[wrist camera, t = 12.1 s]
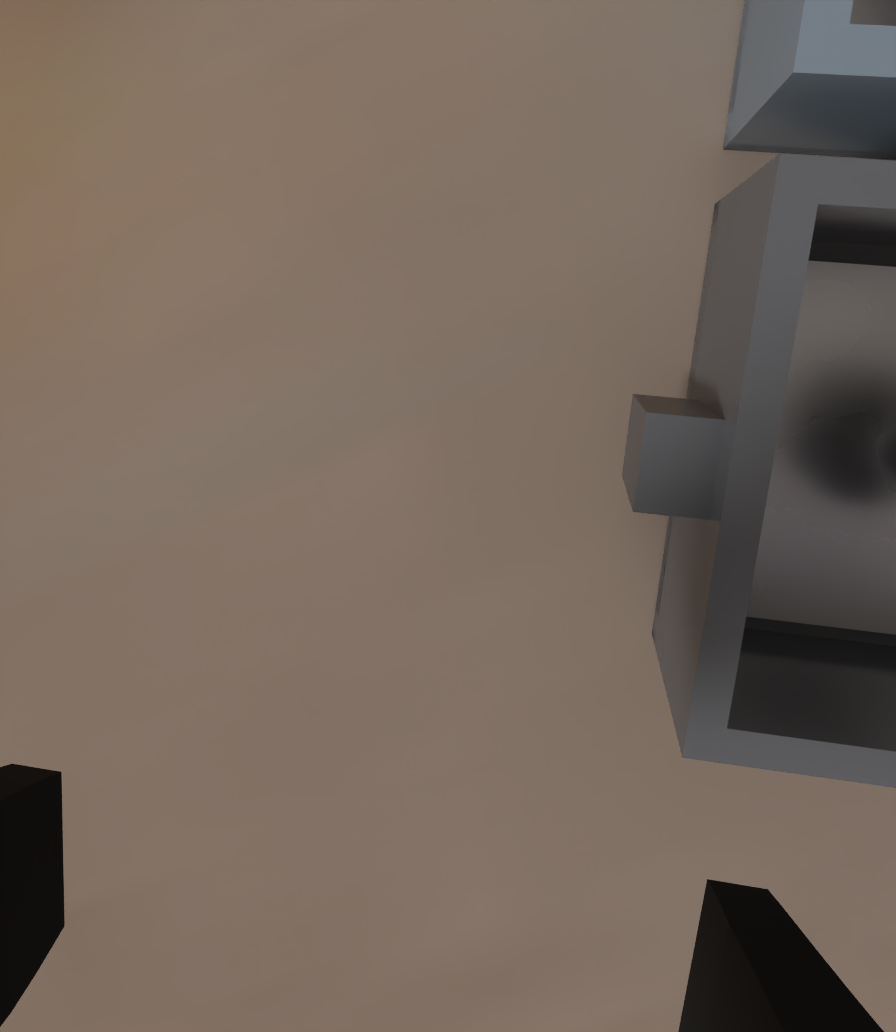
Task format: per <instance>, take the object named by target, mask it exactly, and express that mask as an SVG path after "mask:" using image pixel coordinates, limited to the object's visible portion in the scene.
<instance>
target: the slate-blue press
mask: <svg viewBox="0 0 896 1032" xmlns="http://www.w3.org/2000/svg"><path fill="white" fill-rule="evenodd" d="M853 1H854V0H745V3H744V9H743V16H742V23H741V30H740V37H739V43H738V50H737V57H736V64H735V71H734V78H733V84H732V91H731V98H730V105H729V112H728V119H727V125H726V132H725V139H724V146H723V150H739V151H755V152H772V153H789V154H806V155H823V156H840V157H857V158H874V159H891V160H896V26H886V25H862V24H850V18H851V12H852V6H853Z"/></svg>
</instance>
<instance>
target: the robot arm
mask: <svg viewBox="0 0 896 1032" xmlns="http://www.w3.org/2000/svg"><path fill="white" fill-rule="evenodd" d="M63 927H64V880H63V831H62V781H61V772H58V771H52V770H46V769H40V768H34V767H28V766H22V765H16V764H10V765H6V766H3V767H0V1026H1V1025H2V1024H3V1022H4V1021H5V1020H6V1018H7V1017H8V1016H9V1015H10V1013H11V1012H12V1010H13V1009H14V1007H15V1005H16V1004H17V1002H18V1001H19V999H20V998H21V996H22V995H23V993H24V991H25V990H26V988H27V987H28V985H29V984H30V982H31V981H32V979H33V977H34V976H35V974H36V973H37V971H38V969H39V968H40V966H41V964H42V963H43V961H44V959H45V958H46V956H47V954H48V953H49V951H50V949H51V948H52V946H53V944H54V943H55V941H56V939H57V938H58V936H59V934H60V932H61V931H62V929H63ZM679 1032H884V1031H883V1030H882V1029H881V1028H880V1027H879V1025H878V1024H877V1023H876V1022H875V1021H874V1020H873V1018H872V1017H871V1016H870V1015H869V1014H868V1012H867V1011H866V1010H865V1009H864V1008H863V1006H862V1005H861V1004H860V1003H859V1002H858V1000H857V999H856V998H855V997H854V995H853V994H852V993H851V992H850V991H849V989H848V988H847V987H846V986H845V985H844V983H843V982H842V981H841V980H840V978H839V977H838V976H837V975H836V973H835V972H834V971H833V970H832V968H831V967H830V966H829V965H828V963H827V962H826V961H825V960H824V959H823V957H822V956H821V955H820V954H819V952H818V951H817V950H816V949H815V947H814V946H813V945H812V944H811V942H810V941H809V940H808V939H807V937H806V936H805V935H804V934H803V932H802V931H801V930H800V928H799V927H798V926H797V925H796V923H795V922H794V921H793V920H792V918H791V917H790V916H789V915H788V913H787V912H786V911H785V910H784V908H783V907H782V906H781V905H780V904H779V902H778V901H777V900H776V899H775V897H774V896H773V895H772V894H771V893H770V891H769V890H768V889H762V888H756V887H750V886H744V885H738V884H732V883H726V882H720V881H714V880H708V879H707V884H706V889H705V894H704V900H703V905H702V910H701V916H700V921H699V926H698V931H697V937H696V942H695V947H694V953H693V958H692V963H691V969H690V974H689V979H688V984H687V990H686V995H685V1000H684V1006H683V1011H682V1016H681V1022H680V1027H679Z"/></svg>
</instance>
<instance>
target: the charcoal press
mask: <svg viewBox="0 0 896 1032" xmlns="http://www.w3.org/2000/svg"><path fill="white" fill-rule="evenodd" d="M808 261H822V262H835V263H849V264H863V265H876V266H890V267H896V161H894V160H877V159H860V158H843V157H826V156H809V155H792V154H779V155H778V156H776V157H775V158H774V159H773V160H771V161H770V162H769V163H767V164H766V165H765V166H764V167H762V168H761V169H760V170H758V171H757V172H756V173H755V174H753V175H752V176H751V177H749V178H748V179H747V180H745V181H744V182H743V183H742V184H740V185H739V186H738V187H736V188H735V189H734V190H733V191H731V192H730V193H729V194H727V195H726V196H725V197H724V198H722V199H721V200H720V201H718V202H717V203H716V204H715V207H714V214H713V221H712V228H711V234H710V241H709V248H708V255H707V262H706V269H705V275H704V282H703V289H702V296H701V303H700V309H699V316H698V323H697V330H696V337H695V344H694V350H693V357H692V364H691V371H690V378H689V385H688V391H687V398H686V399H681V398H670V397H660V396H649V395H638V394H633V396H632V404H631V412H630V419H629V427H628V434H627V442H626V450H625V457H624V465H623V472H622V477H623V480H624V484H625V487H626V490H627V494H628V497H629V500H630V504H631V507H632V510H633V512H641V513H650V514H659V515H668V516H669V521H668V528H667V535H666V541H665V548H664V555H663V562H662V569H661V575H660V582H659V589H658V596H657V603H656V610H655V616H654V623H653V630H652V636H653V640H654V644H655V648H656V652H657V656H658V660H659V664H660V668H661V672H662V677H663V681H664V685H665V689H666V693H667V697H668V701H669V705H670V709H671V713H672V717H673V721H674V725H675V730H676V734H677V738H678V742H679V746H680V750H681V754H682V758H689V759H696V760H703V761H710V762H718V763H725V764H732V765H739V766H746V767H753V768H760V769H767V770H774V771H781V772H788V773H795V774H802V775H809V776H816V777H824V778H831V779H838V780H845V781H852V782H859V783H866V784H873V785H880V786H887V787H894V788H896V635H894V634H886V633H878V632H870V631H862V630H853V629H845V628H837V627H829V626H820V625H812V624H804V623H796V622H787V621H779V620H771V619H763V618H755V617H746V616H747V610H748V604H749V599H750V593H751V587H752V581H753V576H754V570H755V564H756V558H757V553H758V547H759V541H760V535H761V530H762V524H763V518H764V512H765V507H766V501H767V495H768V489H769V484H770V478H771V472H772V466H773V461H774V455H775V449H776V443H777V438H778V432H779V426H780V420H781V415H782V409H783V403H784V397H785V392H786V386H787V380H788V374H789V369H790V363H791V357H792V351H793V346H794V340H795V334H796V328H797V323H798V317H799V311H800V305H801V300H802V294H803V288H804V282H805V277H806V271H807V265H808Z"/></svg>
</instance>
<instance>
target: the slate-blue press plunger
mask: <svg viewBox="0 0 896 1032" xmlns="http://www.w3.org/2000/svg"><path fill="white" fill-rule="evenodd" d="M850 24H862V25H886V26H896V0H854V1H853V6H852V12H851V18H850Z"/></svg>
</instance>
